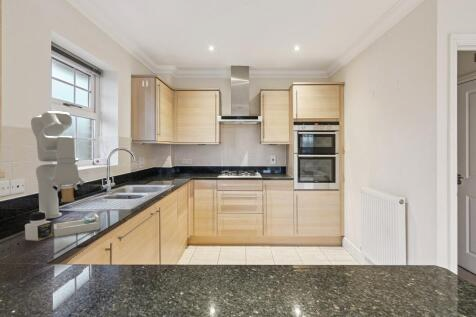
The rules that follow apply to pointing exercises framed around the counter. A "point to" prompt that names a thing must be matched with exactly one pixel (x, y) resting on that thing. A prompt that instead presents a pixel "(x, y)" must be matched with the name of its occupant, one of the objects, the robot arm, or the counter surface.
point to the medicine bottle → (38, 227)
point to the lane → (76, 226)
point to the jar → (67, 193)
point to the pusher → (88, 220)
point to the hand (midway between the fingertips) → (67, 198)
